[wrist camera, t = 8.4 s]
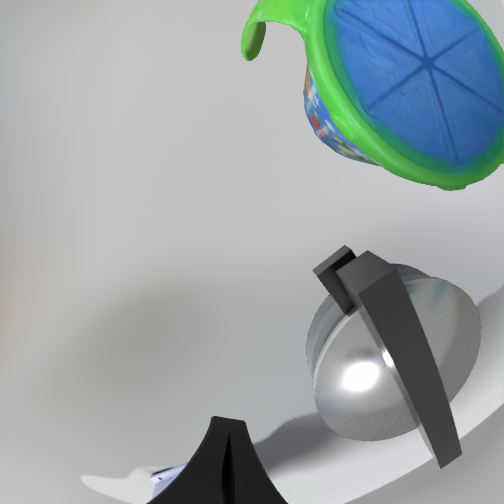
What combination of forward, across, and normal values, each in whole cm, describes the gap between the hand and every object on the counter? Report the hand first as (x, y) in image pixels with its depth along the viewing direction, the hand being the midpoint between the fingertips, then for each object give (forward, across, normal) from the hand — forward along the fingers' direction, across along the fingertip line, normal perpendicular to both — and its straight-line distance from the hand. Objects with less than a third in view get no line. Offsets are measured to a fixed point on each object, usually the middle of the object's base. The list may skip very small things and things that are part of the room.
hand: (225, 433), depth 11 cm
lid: (+6, -11, -1) cm, 13 cm away
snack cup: (+11, -5, -17) cm, 20 cm away
